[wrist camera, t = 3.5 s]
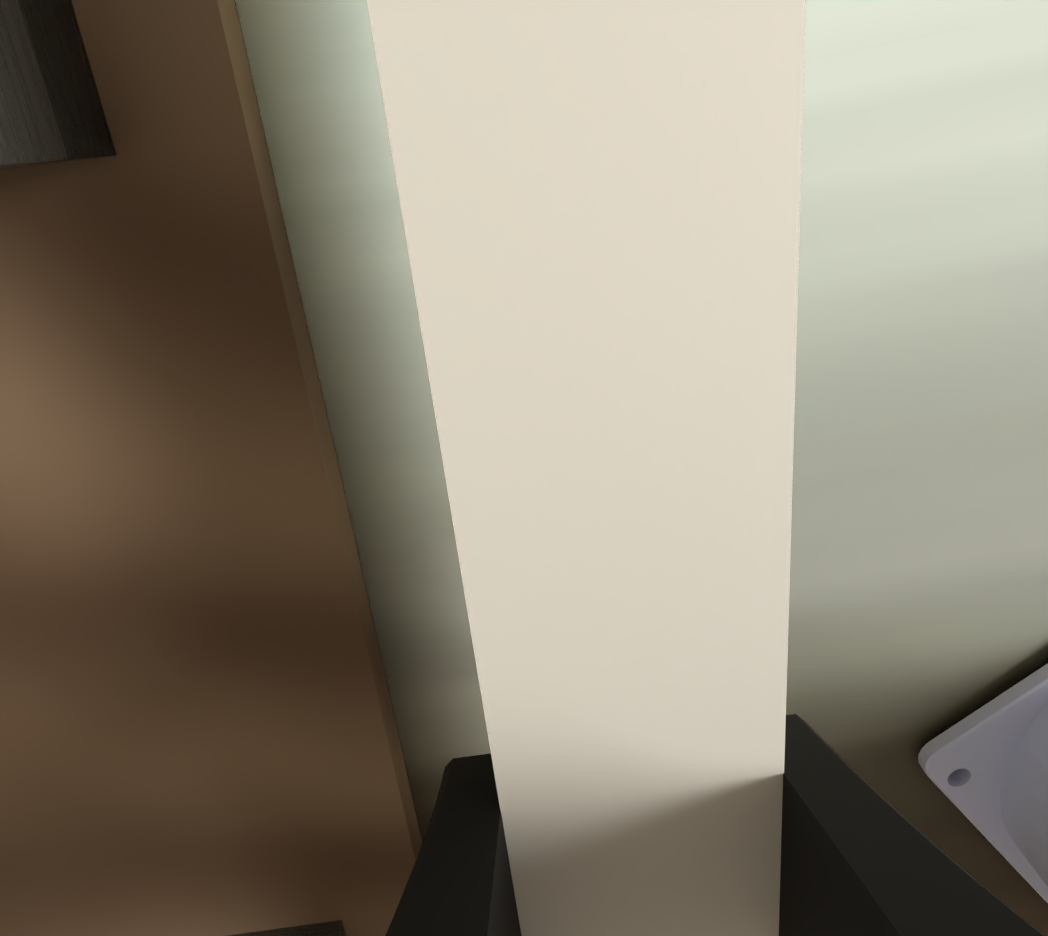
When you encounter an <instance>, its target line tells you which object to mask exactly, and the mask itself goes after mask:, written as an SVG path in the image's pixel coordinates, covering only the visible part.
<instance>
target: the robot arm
mask: <svg viewBox="0 0 1048 936" xmlns="http://www.w3.org/2000/svg"><path fill="white" fill-rule="evenodd" d="M918 762H919V764H920V766H921V768H922V769H923V770H924V772H925V773H926V775H927V776H928V777H929V778H930V779H931V780H932V781H933V783H934V784H935V785H936V786H937V787H938V788H939V789H940V790H941V791H942V792H943V793H944V794H945V795H946V796H947V797H948V798H949V799H950V801H951V802H952V803H953V804H954V805H955V806H956V807H957V808H958V809H959V810H960V811H961V812H962V813H963V814H964V815H965V816H966V818H967V819H968V820H969V821H970V822H971V823H972V824H973V825H974V826H975V827H976V828H977V829H978V830H979V831H980V832H981V833H982V834H983V836H984V837H985V838H986V839H987V840H988V841H989V842H990V843H991V844H992V845H993V846H994V847H995V848H996V849H997V850H998V851H999V852H1000V854H1001V855H1002V856H1003V857H1004V858H1005V859H1006V860H1007V861H1008V862H1009V863H1010V864H1011V865H1012V866H1013V867H1014V868H1015V869H1016V870H1017V872H1018V873H1019V874H1020V875H1021V876H1022V877H1023V878H1024V879H1025V880H1026V881H1027V882H1028V883H1029V884H1030V885H1031V886H1032V887H1033V888H1034V890H1035V891H1036V892H1037V893H1038V894H1039V895H1040V896H1041V897H1042V898H1043V899H1044V900H1045V901H1046V902H1047V903H1048V663H1047V664H1046V665H1044V666H1043V667H1041V668H1040V669H1038V670H1037V671H1035V672H1034V673H1032V674H1031V675H1029V676H1028V677H1026V678H1025V679H1023V680H1021V681H1020V682H1018V683H1017V684H1015V685H1014V686H1012V687H1011V688H1009V689H1008V690H1006V691H1005V692H1003V693H1002V694H1000V695H999V696H997V697H996V698H994V699H993V700H991V701H990V702H988V703H987V704H985V705H984V706H982V707H981V708H979V709H978V710H976V711H974V712H973V713H971V714H970V715H968V716H967V717H965V718H964V719H962V720H961V721H959V722H958V723H956V724H955V725H953V726H952V727H950V728H949V729H947V730H946V731H944V732H943V733H941V734H940V735H938V736H937V737H935V738H934V739H932V740H931V741H929V742H928V743H927V744H925V745H924V746H923V747H922V749H921V751H920V753H919V754H918ZM955 770H956V771H955ZM953 771H954V772H953ZM385 936H522V935H521V929H520V923H519V917H518V911H517V905H516V899H515V893H514V887H513V881H512V875H511V869H510V863H509V857H508V851H507V845H506V839H505V833H504V827H503V821H502V815H501V810H500V806H499V800H498V794H497V788H496V781H495V775H494V769H493V763H492V757H491V754H485V755H477V756H469V757H462V758H454V759H452V760H451V761H450V762H449V763H448V764H447V766H446V767H445V770H444V774H443V778H442V783H441V786H440V790H439V793H438V797H437V800H436V804H435V807H434V810H433V813H432V817H431V820H430V823H429V826H428V829H427V831H426V834H425V837H424V840H423V843H422V845H421V848H420V851H419V854H418V857H417V859H416V862H415V864H414V867H413V869H412V872H411V874H410V877H409V879H408V882H407V884H406V887H405V889H404V892H403V894H402V897H401V899H400V902H399V904H398V907H397V909H396V912H395V914H394V917H393V919H392V921H391V924H390V926H389V928H388V930H387V933H386V935H385ZM779 936H1045V935H1044V934H1043V933H1041V932H1040V931H1039V930H1037V929H1036V928H1035V927H1034V926H1032V925H1031V924H1030V923H1029V922H1027V921H1026V920H1025V919H1024V918H1022V917H1021V916H1020V915H1019V914H1018V913H1016V912H1015V911H1014V910H1013V909H1011V908H1010V907H1009V906H1008V905H1006V904H1005V903H1004V902H1003V901H1002V900H1000V899H999V898H998V897H997V896H995V895H994V894H993V893H992V892H990V891H989V890H988V889H987V888H985V887H984V886H983V885H982V884H981V883H980V882H978V881H977V880H976V879H975V878H974V877H972V876H971V875H970V874H969V873H968V872H967V871H965V870H964V869H963V868H962V867H961V866H959V865H958V864H957V863H956V862H955V861H954V860H952V859H951V858H950V857H949V856H948V855H947V854H946V853H945V852H943V851H942V850H941V849H940V848H939V847H938V846H937V845H936V844H934V843H933V842H932V841H931V840H930V839H929V838H928V837H927V836H925V835H924V834H923V833H922V832H921V831H920V830H919V829H917V828H916V827H915V826H914V825H913V824H912V823H911V822H910V821H908V820H907V819H906V818H905V817H904V816H903V815H902V814H901V813H900V812H899V811H897V810H896V809H895V808H894V807H893V806H892V805H891V804H890V803H889V802H888V801H887V800H885V799H884V798H883V797H882V796H881V795H880V794H879V793H878V792H877V791H876V790H875V789H874V788H873V787H872V786H871V785H870V784H869V783H867V782H866V781H865V780H864V779H863V778H862V777H861V776H860V775H859V774H858V773H857V772H856V771H855V770H854V769H853V768H852V767H851V766H850V765H849V764H848V763H847V762H846V761H844V760H843V759H842V758H841V757H840V756H839V755H838V754H837V753H836V752H835V751H834V750H833V749H832V748H831V747H830V746H829V745H828V744H827V743H826V742H825V741H824V740H823V739H822V738H821V737H820V736H819V735H818V734H817V733H816V732H815V731H814V730H813V729H812V728H811V727H810V726H809V725H808V724H807V723H806V722H805V721H804V720H802V719H801V718H800V717H799V716H797V715H796V714H794V715H786V726H785V762H784V773H783V797H782V833H781V869H780V905H779Z"/></svg>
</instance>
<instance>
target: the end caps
mask: <svg viewBox="0 0 1048 936" xmlns="http://www.w3.org/2000/svg"><path fill="white" fill-rule="evenodd" d="M115 155H117V154H116V151H115V147H114V144H113V141H112V137H111V134H110V131H109V127H108V124H107V120H106V117H105V114H104V110H103V107H102V103H101V100H100V97H99V93H98V90H97V86H96V83H95V80H94V76H93V73H92V69H91V66H90V63H89V59H88V56H87V52H86V49H85V46H84V42H83V39H82V35H81V32H80V29H79V25H78V22H77V18H76V15H75V12H74V8H73V5H72V1H71V0H0V169H8V168H16V167H24V166H32V165H41V164H49V163H57V162H66V161H74V160H82V159H90V158H99V157H107V156H115ZM227 936H346V932H345V929H344V926H343V922H342V920H338V921H331V922H323V923H316V924H308V925H301V926H294V927H286V928H279V929H271V930H264V931H257V932H249V933H242V934H234V935H227Z"/></svg>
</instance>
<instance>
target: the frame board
mask: <svg viewBox="0 0 1048 936" xmlns="http://www.w3.org/2000/svg"><path fill="white" fill-rule="evenodd" d="M71 1H72V5H73V8H74V12H75V15H76V18H77V22H78V25H79V29H80V32H81V35H82V39H83V42H84V46H85V49H86V52H87V56H88V59H89V63H90V66H91V69H92V73H93V76H94V80H95V83H96V86H97V90H98V93H99V97H100V100H101V103H102V107H103V110H104V114H105V117H106V120H107V124H108V127H109V131H110V134H111V137H112V141H113V144H114V147H115V151H116V154H117V155H115V156H107V157H99V158H90V159H82V160H74V161H66V162H57V163H49V164H41V165H32V166H24V167H16V168H8V169H0V936H227V935H234V934H242V933H249V932H257V931H264V930H271V929H279V928H286V927H294V926H301V925H308V924H316V923H323V922H331V921H338V920H342V922H343V926H344V929H345V932H346V936H385V935H386V933H387V930H388V928H389V926H390V924H391V921H392V919H393V917H394V914H395V912H396V909H397V907H398V904H399V902H400V899H401V897H402V894H403V892H404V889H405V887H406V884H407V882H408V879H409V877H410V874H411V872H412V869H413V867H414V864H415V862H416V859H417V857H418V854H419V851H420V848H421V845H422V839H421V835H420V830H419V826H418V821H417V817H416V812H415V808H414V803H413V799H412V794H411V790H410V785H409V781H408V776H407V772H406V767H405V763H404V758H403V754H402V749H401V745H400V740H399V736H398V731H397V727H396V722H395V718H394V713H393V709H392V704H391V700H390V695H389V691H388V686H387V682H386V677H385V673H384V668H383V664H382V659H381V655H380V651H379V646H378V642H377V637H376V633H375V628H374V624H373V619H372V615H371V610H370V606H369V601H368V597H367V592H366V588H365V583H364V579H363V574H362V570H361V565H360V561H359V556H358V552H357V547H356V543H355V538H354V534H353V529H352V525H351V520H350V516H349V511H348V507H347V502H346V498H345V493H344V489H343V484H342V480H341V475H340V471H339V466H338V462H337V458H336V453H335V449H334V444H333V440H332V435H331V431H330V426H329V422H328V417H327V413H326V408H325V404H324V399H323V395H322V390H321V386H320V381H319V377H318V372H317V368H316V363H315V359H314V354H313V350H312V345H311V341H310V336H309V332H308V327H307V323H306V318H305V314H304V309H303V305H302V300H301V296H300V291H299V287H298V282H297V278H296V273H295V269H294V265H293V260H292V256H291V251H290V247H289V242H288V238H287V233H286V229H285V224H284V220H283V215H282V211H281V206H280V202H279V197H278V193H277V188H276V184H275V179H274V175H273V170H272V166H271V161H270V157H269V152H268V148H267V143H266V139H265V134H264V130H263V125H262V121H261V116H260V112H259V107H258V103H257V98H256V94H255V89H254V85H253V80H252V76H251V71H250V67H249V63H248V58H247V54H246V49H245V45H244V40H243V36H242V31H241V27H240V22H239V18H238V13H237V9H236V4H235V0H71Z"/></svg>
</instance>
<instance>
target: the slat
mask: <svg viewBox="0 0 1048 936" xmlns="http://www.w3.org/2000/svg"><path fill="white" fill-rule="evenodd" d="M367 6H368V12H369V18H370V24H371V30H372V36H373V42H374V48H375V54H376V60H377V66H378V72H379V78H380V84H381V90H382V96H383V103H384V109H385V115H386V121H387V127H388V133H389V139H390V145H391V151H392V157H393V163H394V169H395V175H396V181H397V187H398V193H399V200H400V206H401V212H402V218H403V224H404V230H405V236H406V242H407V248H408V254H409V260H410V266H411V272H412V278H413V284H414V290H415V297H416V303H417V309H418V315H419V321H420V327H421V333H422V339H423V345H424V351H425V357H426V363H427V369H428V375H429V381H430V387H431V394H432V400H433V406H434V412H435V418H436V424H437V430H438V436H439V442H440V448H441V454H442V460H443V466H444V472H445V478H446V484H447V490H448V497H449V503H450V509H451V515H452V521H453V527H454V533H455V539H456V545H457V551H458V557H459V563H460V569H461V575H462V581H463V587H464V594H465V600H466V606H467V612H468V618H469V624H470V630H471V636H472V642H473V648H474V654H475V660H476V666H477V672H478V678H479V684H480V691H481V697H482V703H483V709H484V715H485V721H486V727H487V733H488V739H489V745H490V751H491V757H492V763H493V769H494V775H495V781H496V788H497V794H498V800H499V806H500V810H501V815H502V821H503V827H504V833H505V839H506V845H507V851H508V857H509V863H510V869H511V875H512V881H513V887H514V893H515V899H516V905H517V911H518V917H519V923H520V929H521V935H522V936H779V905H780V869H781V833H782V797H783V773H784V762H785V726H786V691H787V656H788V620H789V585H790V550H791V514H792V479H793V444H794V408H795V373H796V338H797V302H798V267H799V232H800V196H801V161H802V125H803V90H804V55H805V19H806V0H367Z"/></svg>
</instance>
